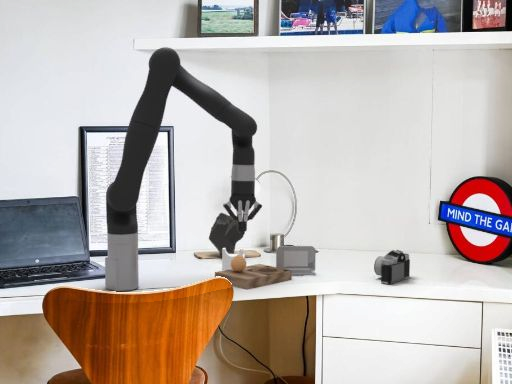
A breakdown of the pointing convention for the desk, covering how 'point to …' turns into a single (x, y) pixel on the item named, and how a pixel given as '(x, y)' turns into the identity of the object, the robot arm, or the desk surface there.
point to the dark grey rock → (225, 233)
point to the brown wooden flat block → (256, 276)
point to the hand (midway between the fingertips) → (241, 232)
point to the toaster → (296, 259)
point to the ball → (238, 263)
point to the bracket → (229, 258)
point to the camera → (393, 266)
